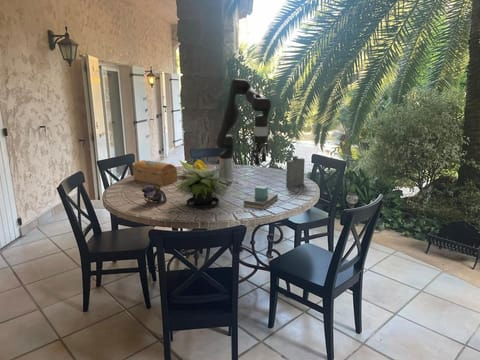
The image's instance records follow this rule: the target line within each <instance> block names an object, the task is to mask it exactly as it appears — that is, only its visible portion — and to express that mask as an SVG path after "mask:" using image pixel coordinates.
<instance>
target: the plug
mask: <svg viewBox="0 0 480 360" xmlns="http://www.w3.org/2000/svg"><path fill="white" fill-rule="evenodd" d="M268 189H269V187H268V186H265V185H257V186H255V187H254V194H255V198H258V199H267V198H268V193H269V192H268V191H269V190H268Z"/></svg>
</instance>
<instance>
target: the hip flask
mask: <svg viewBox="0 0 480 360" xmlns="http://www.w3.org/2000/svg"><path fill="white" fill-rule="evenodd" d="M305 163H306V161H305V158H299V156H298V155H292V159H291V160H290V159H289V160H287V161H286V173H285V174H286V176H285V177H286V179H285V181H286V184H285V185H286V186H285V187H286V188H288V189H289V188H292V187H297V186H300V184H301V185H304V183H305ZM296 185H297V186H296Z"/></svg>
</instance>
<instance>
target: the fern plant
mask: <svg viewBox="0 0 480 360" xmlns="http://www.w3.org/2000/svg"><path fill="white" fill-rule="evenodd" d="M181 165H182V166H183V165H184V164H181ZM184 166H187V165H184ZM185 168H190V169H191V170H192V173H193V172H194V171H195V170H196V169H195V168H194V167H191V166H188V167H185ZM219 168H220V167H219ZM219 168H216V169H215V170H213V171H212V172H211V171H206V172H203V173H204V174H199V173H200V172H199V171H198V170H196V171H195V172H194V175H195V176H196V177H195V178H190V180H189V177H187V178H188V179H186V178H185V179H182V180H181V181H178V182H176V183H175V184H174V187H173V188H172V191H173V190H175V191H174V192H173V193H172V195H174V194H175V193H177V192H179V191H182V190H183V189H185V191H184V194H185V195H183V196H182V197H183V198H184V197H185V196H186V195H187V194H189V193H190V194H191V197H190V198H188V199H187V200H186V206H187V207H189V208H190V207H191V208H190V209H194V208H196V210H207V209H206V208H208V209H212V207H213V208H216V207H217V206H218V205H219V204H220V200H219V199H220V198H218V196H220V197H223V196H222V195H223V194H224V193H225V192H226V193H228V194H230V192H229V189H230V190H232V188H230V187H229V186H227V184H229V185H230V186H232V184H231V183H228V182H226V181H225V182H224V180H223V179H224V178H221V177H219V175H218V176H217V172H218V174H219V173H220V172H219V170H220V169H224V168H220V169H219ZM190 169H185V170H190ZM191 170H190V171H191ZM193 170H194V171H193ZM197 171H198V172H197ZM208 172H209V173H208ZM196 174H197V175H196ZM198 174H199V175H198ZM214 175H215V176H214ZM182 176H183V177H186V176H189V175H186V174H177V177H182ZM190 177H192V176H190ZM225 180H226V179H225ZM220 181H221V182H220ZM222 181H223V182H222ZM223 183H224V184H223ZM225 184H226V185H225ZM187 187H188V188H187ZM221 192H222V193H221ZM217 195H218V196H217Z"/></svg>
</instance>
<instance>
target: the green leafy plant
mask: <svg viewBox="0 0 480 360" xmlns="http://www.w3.org/2000/svg"><path fill="white" fill-rule="evenodd" d="M192 165H193V167H194V168H195V165H194V164H192ZM196 170H198V169H196ZM196 170H195V171H196ZM193 171H194V170H193ZM195 171H194V172H195ZM198 171H199V172H200V170H198ZM198 171H197V172H198ZM188 172H189V173H188V174H187V175H189V176H186V175H185V180H186V179H188V178H187V177H189V180H190V178H195V177H196V176H195V175H194V172H193V173H192V170H191V171H190V170H189V171H188ZM199 174H201V173H199ZM199 174H198V175H199ZM196 175H197V174H196ZM190 176H192V177H190ZM186 187H187V186H186ZM187 188H188V187H187ZM187 188H186V189H187Z"/></svg>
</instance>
